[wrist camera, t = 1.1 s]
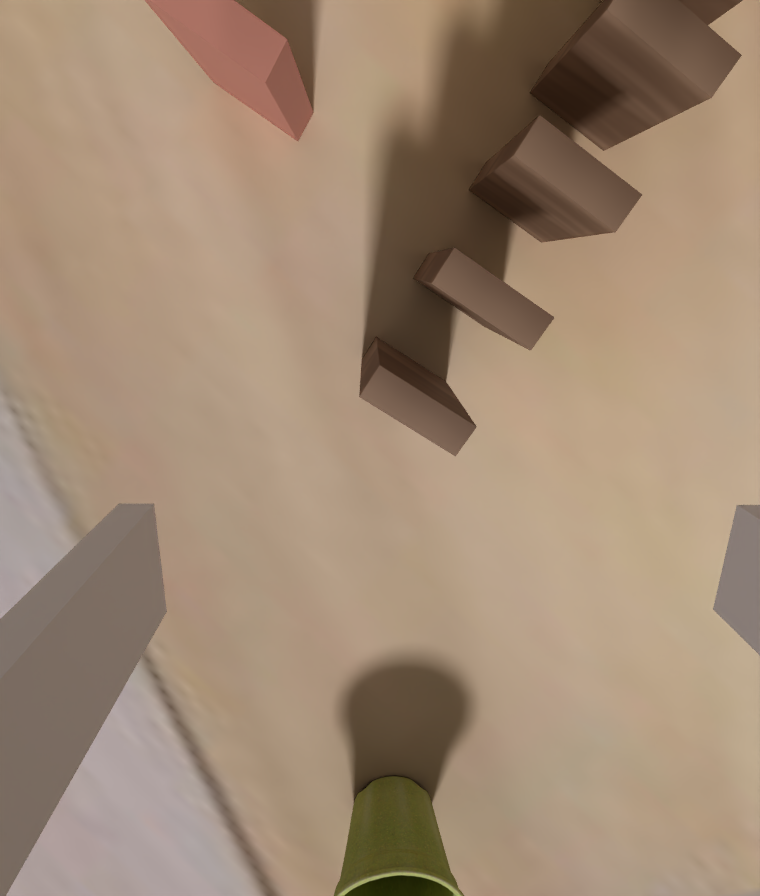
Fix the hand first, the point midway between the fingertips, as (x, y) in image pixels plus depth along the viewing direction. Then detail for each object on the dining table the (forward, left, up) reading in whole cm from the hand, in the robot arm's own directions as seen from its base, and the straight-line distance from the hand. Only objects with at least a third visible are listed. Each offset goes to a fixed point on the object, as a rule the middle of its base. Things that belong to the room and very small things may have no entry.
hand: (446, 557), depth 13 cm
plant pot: (+18, -28, -22) cm, 40 cm away
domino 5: (0, +12, -22) cm, 25 cm away
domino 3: (0, +6, -22) cm, 23 cm away
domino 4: (0, +17, -22) cm, 28 cm away
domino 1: (-14, +9, -22) cm, 27 cm away
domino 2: (0, +1, -22) cm, 22 cm away
